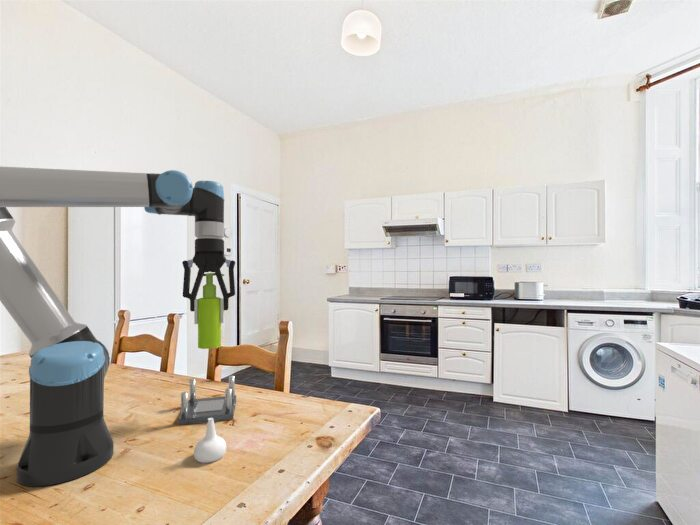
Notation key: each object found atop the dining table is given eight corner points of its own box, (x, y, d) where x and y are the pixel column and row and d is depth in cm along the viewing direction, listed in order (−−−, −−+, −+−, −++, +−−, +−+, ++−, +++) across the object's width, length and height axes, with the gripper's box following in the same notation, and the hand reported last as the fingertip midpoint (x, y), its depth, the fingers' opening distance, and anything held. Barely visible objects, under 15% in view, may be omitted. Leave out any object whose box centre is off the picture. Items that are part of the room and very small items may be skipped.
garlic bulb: (215, 468, 71) (218, 428, 71) (186, 462, 72) (189, 423, 72) (231, 452, 77) (234, 415, 77) (204, 447, 78) (207, 410, 78)
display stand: (233, 419, 93) (233, 390, 93) (178, 425, 90) (178, 394, 90) (236, 400, 107) (236, 374, 107) (188, 404, 103) (188, 378, 104)
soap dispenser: (228, 345, 99) (228, 272, 100) (204, 349, 94) (203, 273, 95) (218, 342, 103) (218, 272, 104) (194, 346, 98) (194, 273, 99)
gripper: (245, 240, 105) (246, 319, 105) (175, 239, 100) (175, 322, 100) (244, 237, 98) (245, 323, 97) (168, 236, 93) (168, 326, 93)
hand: (209, 322), depth 99 cm, fingers closed on soap dispenser, 6 cm apart
